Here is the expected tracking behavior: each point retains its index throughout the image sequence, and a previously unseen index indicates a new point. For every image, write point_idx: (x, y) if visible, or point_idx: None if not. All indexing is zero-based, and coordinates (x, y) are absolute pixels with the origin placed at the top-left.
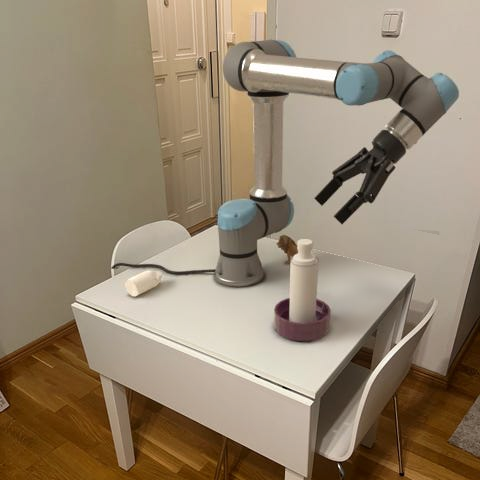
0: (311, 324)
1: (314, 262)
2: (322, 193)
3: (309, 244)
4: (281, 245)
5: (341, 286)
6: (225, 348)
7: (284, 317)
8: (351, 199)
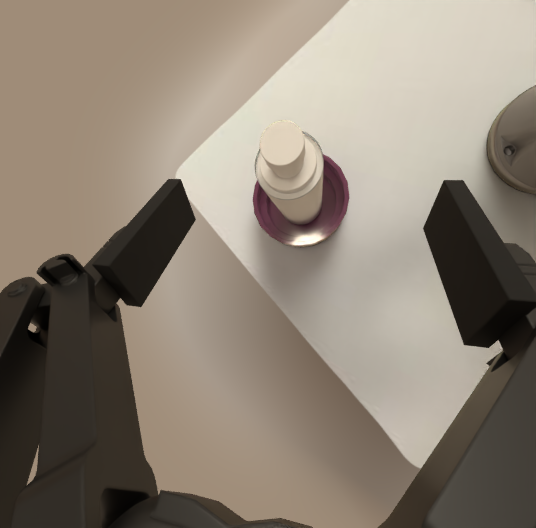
0: (253, 198)
1: (267, 184)
2: (455, 217)
3: (260, 150)
4: None
5: (418, 326)
6: (283, 82)
7: (329, 183)
8: (115, 242)
